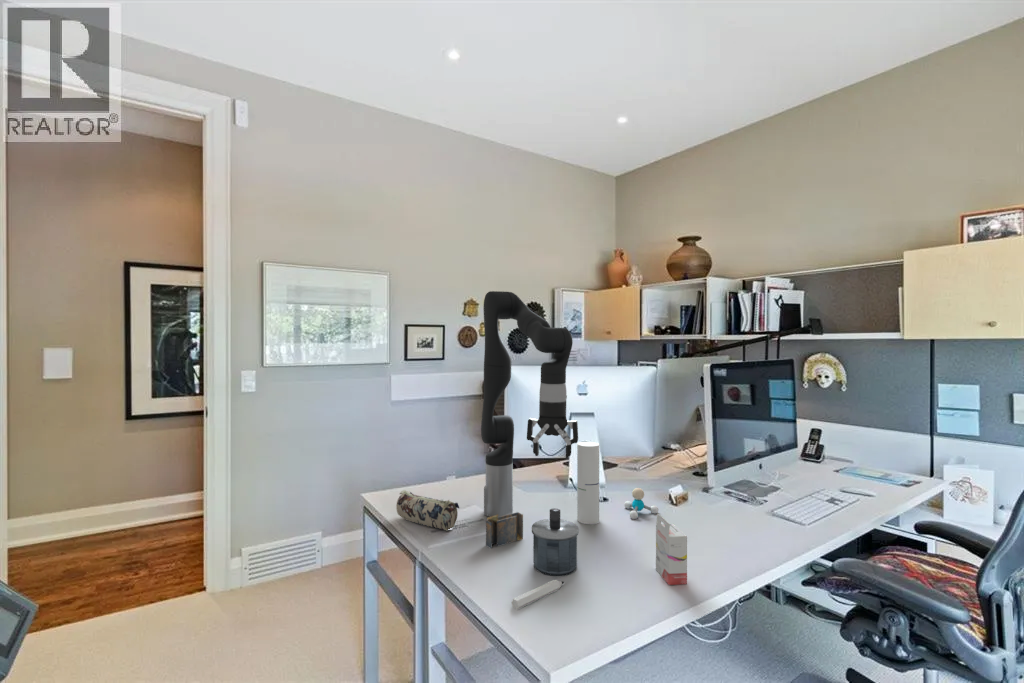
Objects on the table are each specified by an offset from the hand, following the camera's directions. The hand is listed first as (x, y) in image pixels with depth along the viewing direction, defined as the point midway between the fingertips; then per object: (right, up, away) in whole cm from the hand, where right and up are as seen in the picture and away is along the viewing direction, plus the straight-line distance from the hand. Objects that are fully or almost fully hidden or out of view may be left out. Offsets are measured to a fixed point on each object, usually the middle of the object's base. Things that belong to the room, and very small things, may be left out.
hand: (552, 456), depth 135 cm
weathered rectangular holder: (-13, -27, +6) cm, 31 cm away
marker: (-4, -27, -24) cm, 36 cm away
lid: (0, -17, -9) cm, 20 cm away
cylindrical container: (+14, -27, +23) cm, 38 cm away
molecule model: (+33, -27, +30) cm, 52 cm away
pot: (0, -26, -9) cm, 28 cm away
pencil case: (-39, -27, +20) cm, 51 cm away
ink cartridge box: (+28, -27, -15) cm, 42 cm away
